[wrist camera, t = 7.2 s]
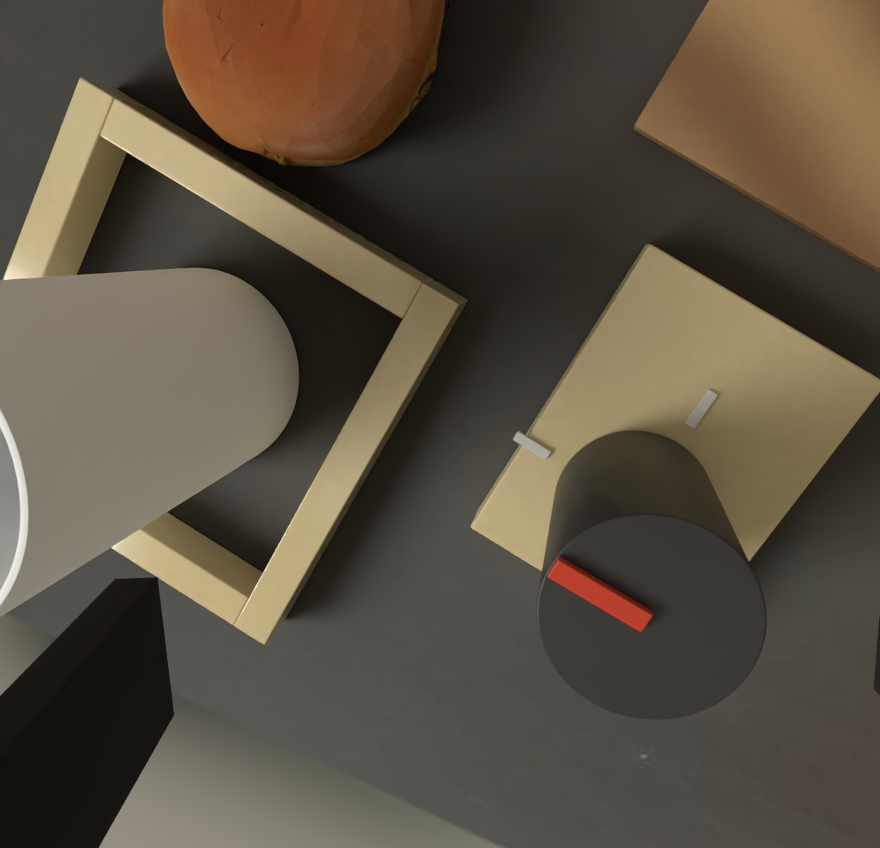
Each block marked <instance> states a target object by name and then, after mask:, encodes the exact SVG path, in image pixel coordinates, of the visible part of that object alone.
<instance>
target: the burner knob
mask: <svg viewBox="0 0 880 848" xmlns="http://www.w3.org/2000/svg"><path fill="white" fill-rule="evenodd" d="M536 613H537V626H538V631H539V636H540V639H541V642H542V645H543V648H544V651H545V653H546V655H547V657H548V658H549V660H550V662H551V664H552V665H553V667H554V668H555V670H556V671H557V673H558V674H559V675H560V676H561V677H562V678H563V680H564V681H565V682H566V683H567V684H568V685H569V686H570V687H571V688H573V689H574V690H575V691H576V692H577V693H578V694H580V695H581V696H583V697H584V698H586V699H587V700H588V701H590V702H592V703H594V704H596V705H597V706H599V707H601V708H603V709H606V710H608V711H611V712H614V713H616V714H620V715H624V716H628V717H632V718H639V719H652V720H662V719H673V718H679V717H683V716H688V715H691V714H694V713H697V712H700V711H703V710H705V709H707V708H709V707H711V706H713V705H715V704H717V703H718V702H720V701H721V700H723V699H724V698H726V697H727V696H729V695H730V694H731V693H732V692H733V691H734V690H736V689H737V688H738V687H739V686H740V684H741V683H742V682H743V681H744V680H745V679H746V678H747V676H748V675H749V673H750V672H751V670H752V669H753V667H754V666H755V664H756V662H757V659H758V657H759V655H760V653H761V650H762V647H763V643H764V640H765V633H766V606H765V600H764V596H763V593H762V590H761V586H760V584H759V582H758V580H757V578H756V575H755V573H754V571H753V569H752V567H751V565H750V563H749V561H748V559H747V557H746V554H745V552H744V550H743V548H742V546H741V544H740V542H739V540H738V538H737V536H736V534H735V531H734V529H733V527H732V525H731V523H730V521H729V519H728V517H727V515H726V513H725V510H724V508H723V506H722V504H721V502H720V500H719V498H718V496H717V494H716V492H715V489H714V487H713V485H712V483H711V481H710V479H709V477H708V475H707V473H706V471H705V469H704V468H703V466H702V465H701V463H700V462H699V461H698V460H697V458H696V457H695V456H694V455H693V454H692V453H691V452H690V451H688V450H687V449H686V448H685V447H683V446H682V445H680V444H679V443H677V442H676V441H674V440H672V439H670V438H668V437H665V436H662V435H659V434H656V433H651V432H647V431H621V432H615V433H611V434H608V435H605V436H602V437H600V438H598V439H595V440H593V441H592V442H590V443H589V444H587V445H585V446H584V447H583V448H582V449H580V450H579V451H578V452H577V453H576V454H575V455H574V456H573V457H572V458H571V459H570V460H569V462H568V463H567V465H566V466H565V467H564V469H563V471H562V473H561V475H560V477H559V480H558V482H557V485H556V490H555V494H554V501H553V507H552V513H551V519H550V525H549V531H548V537H547V543H546V550H545V556H544V562H543V568H542V574H541V580H540V586H539V592H538V599H537V611H536Z"/></svg>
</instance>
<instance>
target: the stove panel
mask: <svg viewBox="0 0 880 848" xmlns="http://www.w3.org/2000/svg"><path fill="white" fill-rule="evenodd" d="M879 392H880V379H879V378H877V377H875V376H874V375H872V374H870V373H869V372H867V371H865V370H863V369H862V368H860V367H858V366H857V365H855V364H853V363H852V362H850V361H848V360H847V359H845V358H843V357H841V356H840V355H838V354H836V353H835V352H833V351H831V350H830V349H828V348H826V347H824V346H823V345H821V344H819V343H818V342H816V341H814V340H813V339H811V338H809V337H808V336H806V335H804V334H802V333H801V332H799V331H797V330H796V329H794V328H792V327H791V326H789V325H787V324H786V323H784V322H782V321H780V320H779V319H777V318H775V317H774V316H772V315H770V314H769V313H767V312H765V311H763V310H762V309H760V308H758V307H757V306H755V305H753V304H752V303H750V302H748V301H747V300H745V299H743V298H741V297H740V296H738V295H736V294H735V293H733V292H731V291H730V290H728V289H726V288H725V287H723V286H721V285H719V284H718V283H716V282H714V281H713V280H711V279H709V278H708V277H706V276H704V275H702V274H701V273H699V272H697V271H696V270H694V269H692V268H691V267H689V266H687V265H686V264H684V263H682V262H680V261H679V260H677V259H675V258H674V257H672V256H670V255H669V254H667V253H665V252H664V251H662V250H660V249H658V248H657V247H655V246H653V245H651V244H646V245H645V246H644V248H643V249H642V251H641V252H640V254H639V256H638V257H637V259H636V260H635V262H634V263H633V265H632V267H631V268H630V270H629V271H628V273H627V275H626V276H625V278H624V279H623V281H622V282H621V284H620V286H619V287H618V289H617V290H616V292H615V294H614V295H613V297H612V298H611V300H610V301H609V303H608V305H607V306H606V308H605V309H604V311H603V313H602V314H601V316H600V317H599V319H598V320H597V322H596V324H595V325H594V327H593V328H592V330H591V332H590V333H589V335H588V336H587V338H586V339H585V341H584V343H583V344H582V346H581V347H580V349H579V351H578V352H577V354H576V355H575V357H574V358H573V360H572V362H571V363H570V365H569V366H568V368H567V370H566V371H565V373H564V374H563V376H562V377H561V379H560V381H559V382H558V384H557V385H556V387H555V389H554V390H553V392H552V393H551V395H550V396H549V398H548V400H547V401H546V403H545V404H544V406H543V408H542V409H541V411H540V412H539V414H538V415H537V417H536V419H535V420H534V422H533V423H532V425H531V427H530V428H529V430H528V431H527V433H526V434H525V435H524V434H523V433H521V432H520V431H518V432H517V433H516V435H515V436H514V438H513V440H514V441H516V442H517V443H519V446H518V447H517V449H516V450H515V452H514V453H513V455H512V457H511V458H510V460H509V461H508V463H507V465H506V466H505V468H504V469H503V471H502V473H501V474H500V476H499V477H498V479H497V480H496V482H495V484H494V485H493V487H492V488H491V490H490V492H489V493H488V495H487V496H486V498H485V499H484V501H483V503H482V504H481V506H480V507H479V509H478V511H477V513H476V515H475V518H474V520H473V522H472V525H471V528H472V529H474V530H476V531H477V532H479V533H481V534H482V535H484V536H485V537H487V538H489V539H490V540H492V541H494V542H495V543H497V544H498V545H500V546H502V547H503V548H505V549H507V550H508V551H510V552H511V553H513V554H515V555H516V556H518V557H520V558H521V559H523V560H524V561H526V562H528V563H529V564H531V565H532V566H534V567H536V568H537V569H539V570H541V571H542V568H543V562H544V556H545V550H546V543H547V537H548V531H549V525H550V519H551V513H552V507H553V501H554V494H555V490H556V485H557V482H558V480H559V477H560V475H561V473H562V471H563V469H564V467H565V466H566V465H567V463H568V462H569V460H570V459H571V458H572V457H573V456H574V455H575V454H576V453H577V452H578V451H579V450H580V449H582V448H583V447H584V446H585V445H587V444H589V443H590V442H592V441H593V440H595V439H598V438H600V437H602V436H605V435H608V434H611V433H615V432H621V431H647V432H651V433H656V434H659V435H662V436H665V437H668V438H670V439H672V440H674V441H676V442H677V443H679V444H680V445H682V446H683V447H685V448H686V449H687V450H688V451H690V452H691V453H692V454H693V455H694V456H695V457H696V458H697V460H698V461H699V462H700V463H701V465H702V466H703V468H704V469H705V471H706V473H707V475H708V477H709V479H710V481H711V483H712V485H713V487H714V489H715V492H716V494H717V496H718V498H719V500H720V502H721V504H722V506H723V508H724V510H725V513H726V515H727V517H728V519H729V521H730V523H731V525H732V527H733V529H734V531H735V534H736V536H737V538H738V540H739V542H740V544H741V546H742V548H743V550H744V552H745V554H746V557H747V559H748V561H750V560H751V559H752V557H753V556H754V555H755V553H756V552H757V551H758V550H759V548H760V547H761V546H762V544H763V543H764V542H765V540H766V539H767V538H768V537H769V535H770V534H771V533H772V531H773V530H774V529H775V527H776V526H777V525H778V524H779V522H780V521H781V520H782V518H783V517H784V516H785V514H786V513H787V512H788V511H789V509H790V508H791V507H792V505H793V504H794V503H795V501H796V500H797V499H798V498H799V496H800V495H801V494H802V492H803V491H804V490H805V488H806V487H807V486H808V485H809V483H810V482H811V481H812V479H813V478H814V477H815V475H816V474H817V473H818V472H819V470H820V469H821V468H822V466H823V465H824V464H825V462H826V461H827V460H828V459H829V457H830V456H831V455H832V453H833V452H834V451H835V449H836V448H837V447H838V446H839V444H840V443H841V442H842V440H843V439H844V438H845V436H846V435H847V434H848V433H849V431H850V430H851V429H852V427H853V426H854V425H855V423H856V422H857V421H858V420H859V418H860V417H861V416H862V414H863V413H864V412H865V410H866V409H867V408H868V407H869V405H870V404H871V403H872V401H873V400H874V399H875V397H876V396H877V395H878V394H879Z"/></svg>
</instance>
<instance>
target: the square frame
mask: <svg viewBox="0 0 880 848" xmlns="http://www.w3.org/2000/svg"><path fill="white" fill-rule="evenodd" d="M127 153H129V154H130V155H132V156H134V157H135V158H137V159H139V160H140V161H142V162H144V163H145V164H147V165H149V166H150V167H152V168H154V169H155V170H157V171H159V172H160V173H162V174H164V175H165V176H167V177H168V178H170V179H172V180H173V181H175V182H177V183H178V184H180V185H182V186H183V187H185V188H187V189H188V190H190V191H192V192H193V193H195V194H197V195H198V196H200V197H202V198H203V199H205V200H206V201H208V202H210V203H211V204H213V205H215V206H216V207H218V208H220V209H221V210H223V211H225V212H226V213H228V214H230V215H231V216H233V217H235V218H236V219H238V220H240V221H241V222H243V223H244V224H246V225H248V226H249V227H251V228H253V229H254V230H256V231H258V232H259V233H261V234H263V235H264V236H266V237H268V238H269V239H271V240H273V241H274V242H276V243H278V244H279V245H281V246H282V247H284V248H286V249H287V250H289V251H291V252H292V253H294V254H296V255H297V256H299V257H301V258H302V259H304V260H306V261H307V262H309V263H311V264H312V265H314V266H316V267H317V268H319V269H320V270H322V271H324V272H325V273H327V274H329V275H330V276H332V277H334V278H335V279H337V280H339V281H340V282H342V283H344V284H345V285H347V286H349V287H350V288H352V289H354V290H355V291H357V292H358V293H360V294H362V295H363V296H365V297H367V298H368V299H370V300H372V301H373V302H375V303H377V304H378V305H380V306H382V307H383V308H385V309H387V310H388V311H390V312H392V313H393V314H395V315H396V316H398V317H400V318H403V319H402V321H401V323H400V325H399V327H398V329H397V330H396V332H395V334H394V336H393V338H392V339H391V341H390V343H389V345H388V347H387V348H386V350H385V352H384V354H383V356H382V358H381V359H380V361H379V363H378V365H377V367H376V368H375V370H374V372H373V374H372V376H371V378H370V379H369V381H368V383H367V385H366V387H365V388H364V390H363V392H362V394H361V396H360V397H359V399H358V401H357V403H356V405H355V407H354V408H353V410H352V412H351V414H350V416H349V417H348V419H347V421H346V423H345V425H344V426H343V428H342V430H341V432H340V434H339V436H338V437H337V439H336V441H335V443H334V445H333V446H332V448H331V450H330V452H329V454H328V455H327V457H326V459H325V461H324V463H323V465H322V466H321V468H320V470H319V472H318V474H317V475H316V477H315V479H314V481H313V483H312V484H311V486H310V488H309V490H308V492H307V494H306V495H305V497H304V499H303V501H302V503H301V504H300V506H299V508H298V510H297V512H296V514H295V515H294V517H293V519H292V521H291V523H290V524H289V526H288V528H287V530H286V532H285V533H284V535H283V537H282V539H281V541H280V543H279V544H278V546H277V548H276V550H275V552H274V553H273V555H272V557H271V559H270V561H269V562H268V564H267V566H266V568H265V570H264V572H261V571H260V570H258V569H257V568H255V567H253V566H252V565H250V564H249V563H247V562H246V561H244V560H242V559H241V558H239V557H238V556H236V555H234V554H233V553H231V552H230V551H228V550H226V549H225V548H223V547H222V546H220V545H218V544H217V543H215V542H214V541H212V540H211V539H209V538H207V537H206V536H204V535H203V534H201V533H199V532H198V531H196V530H195V529H193V528H191V527H190V526H188V525H187V524H185V523H183V522H182V521H180V520H179V519H177V518H176V517H174V516H172V515H171V514H169V513H168V512H166V513H165V514H163V515H161V516H160V517H158V518H157V519H155V520H154V521H152V522H150V523H149V524H147V525H146V526H144V527H142V528H141V529H139V530H138V531H136V532H134V533H133V534H131V535H130V536H128V537H127V538H125V539H123V540H122V541H120V542H119V543H117V544H115V545H114V546H112V547H111V548H112V549H114V550H115V551H117V552H118V553H120V554H122V555H123V556H125V557H126V558H128V559H129V560H131V561H133V562H134V563H136V564H137V565H139V566H141V567H142V568H144V569H145V570H147V571H148V572H150V573H152V574H153V575H155V576H156V577H158V578H159V579H161V580H163V581H164V582H166V583H167V584H169V585H171V586H172V587H174V588H175V589H177V590H178V591H180V592H182V593H183V594H185V595H186V596H188V597H189V598H191V599H193V600H194V601H196V602H197V603H199V604H201V605H202V606H204V607H205V608H207V609H208V610H210V611H212V612H213V613H215V614H216V615H218V616H219V617H221V618H223V619H224V620H226V621H227V622H229V623H230V624H232V625H234V626H235V627H237V628H238V629H240V630H241V631H243V632H245V633H246V634H248V635H249V636H251V637H252V638H254V639H256V640H257V641H259V642H260V643H262V644H266V642H267V641H268V640H269V639H270V638H271V636H272V635H273V634H274V633H275V631H276V630H277V629H278V628H279V627H280V625H281V624H282V623H283V622H284V620H285V619H286V617H287V615H288V613H289V612H290V610H291V608H292V607H293V605H294V603H295V601H296V600H297V598H298V596H299V594H300V593H301V591H302V589H303V587H304V586H305V584H306V582H307V580H308V579H309V577H310V575H311V573H312V572H313V570H314V568H315V566H316V565H317V563H318V561H319V559H320V558H321V556H322V554H323V552H324V551H325V549H326V547H327V546H328V544H329V542H330V540H331V539H332V537H333V535H334V533H335V532H336V530H337V528H338V526H339V525H340V523H341V521H342V519H343V518H344V516H345V514H346V512H347V511H348V509H349V507H350V505H351V504H352V502H353V500H354V498H355V497H356V495H357V493H358V491H359V490H360V488H361V486H362V485H363V483H364V481H365V479H366V478H367V476H368V474H369V472H370V471H371V469H372V467H373V465H374V464H375V462H376V460H377V458H378V457H379V455H380V453H381V451H382V450H383V448H384V446H385V444H386V443H387V441H388V439H389V437H390V436H391V434H392V432H393V430H394V429H395V427H396V425H397V424H398V422H399V420H400V418H401V417H402V415H403V413H404V411H405V410H406V408H407V406H408V404H409V403H410V401H411V399H412V397H413V396H414V394H415V392H416V390H417V389H418V387H419V385H420V383H421V382H422V380H423V378H424V376H425V375H426V373H427V371H428V369H429V368H430V366H431V364H432V363H433V361H434V359H435V357H436V356H437V354H438V352H439V350H440V349H441V347H442V345H443V343H444V342H445V340H446V338H447V336H448V335H449V333H450V331H451V329H452V328H453V326H454V324H455V322H456V321H457V319H458V317H459V315H460V314H461V312H462V310H463V308H464V307H465V305H466V303H467V301H468V300H467V299H465V298H464V297H462V296H460V295H459V294H457V293H455V292H454V291H452V290H450V289H449V288H447V287H445V286H444V285H442V284H440V283H439V282H437V281H433V279H432V278H430V277H428V276H427V275H425V274H423V273H422V272H420V271H418V270H417V269H415V268H413V267H412V266H410V265H409V264H407V263H405V262H404V261H402V260H400V259H399V258H397V257H395V256H394V255H392V254H390V253H389V252H387V251H385V250H384V249H382V248H380V247H379V246H377V245H375V244H374V243H372V242H370V241H369V240H367V239H365V238H364V237H362V236H360V235H359V234H357V233H355V232H354V231H352V230H350V229H349V228H347V227H345V226H344V225H342V224H340V223H339V222H337V221H335V220H334V219H332V218H330V217H329V216H327V215H325V214H324V213H322V212H320V211H319V210H317V209H315V208H314V207H312V206H310V205H309V204H307V203H305V202H304V201H302V200H300V199H299V198H297V197H295V196H294V195H292V194H290V193H289V192H287V191H285V190H284V189H282V188H280V187H279V186H277V185H275V184H274V183H272V182H270V181H269V180H267V179H265V178H264V177H262V176H260V175H259V174H257V173H256V172H254V171H252V170H251V169H249V168H247V167H246V166H244V165H242V164H241V163H239V162H237V161H236V160H234V159H232V158H231V157H229V156H227V155H226V154H224V153H222V152H221V151H219V150H217V149H216V148H214V147H212V146H211V145H209V144H207V143H206V142H204V141H202V140H201V139H199V138H197V137H196V136H194V135H192V134H191V133H189V132H187V131H186V130H184V129H182V128H181V127H179V126H177V125H176V124H174V123H172V122H171V121H169V120H167V119H166V118H164V117H162V116H161V115H159V114H157V113H156V112H154V111H152V110H151V109H149V108H147V107H145V106H144V105H142V104H141V103H139V102H137V101H136V100H134V99H132V98H131V97H129V96H127V95H126V94H124V93H122V92H121V91H119V90H117V89H116V88H113V87H110V86H107V85H104V84H101V83H98V82H94V81H91V80H88V79H85V78H80V79H79V82H78V84H77V87H76V90H75V92H74V95H73V97H72V100H71V103H70V105H69V108H68V110H67V113H66V116H65V118H64V121H63V124H62V126H61V129H60V131H59V134H58V137H57V139H56V142H55V145H54V147H53V150H52V152H51V155H50V158H49V160H48V163H47V165H46V168H45V171H44V173H43V176H42V179H41V181H40V184H39V186H38V189H37V192H36V194H35V197H34V200H33V202H32V205H31V207H30V210H29V213H28V215H27V218H26V220H25V223H24V226H23V228H22V231H21V234H20V236H19V239H18V241H17V244H16V247H15V249H14V252H13V255H12V257H11V260H10V262H9V265H8V268H7V270H6V273H5V275H4V278H3V280H8V279H23V278H39V277H54V276H70V275H77V273H78V271H79V268H80V266H81V264H82V261H83V259H84V256H85V254H86V251H87V249H88V247H89V244H90V242H91V239H92V237H93V234H94V232H95V230H96V227H97V225H98V222H99V220H100V217H101V215H102V213H103V210H104V208H105V205H106V203H107V200H108V198H109V195H110V193H111V191H112V188H113V186H114V183H115V181H116V178H117V176H118V174H119V171H120V169H121V166H122V164H123V161H124V159H125V157H126V154H127Z"/></svg>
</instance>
